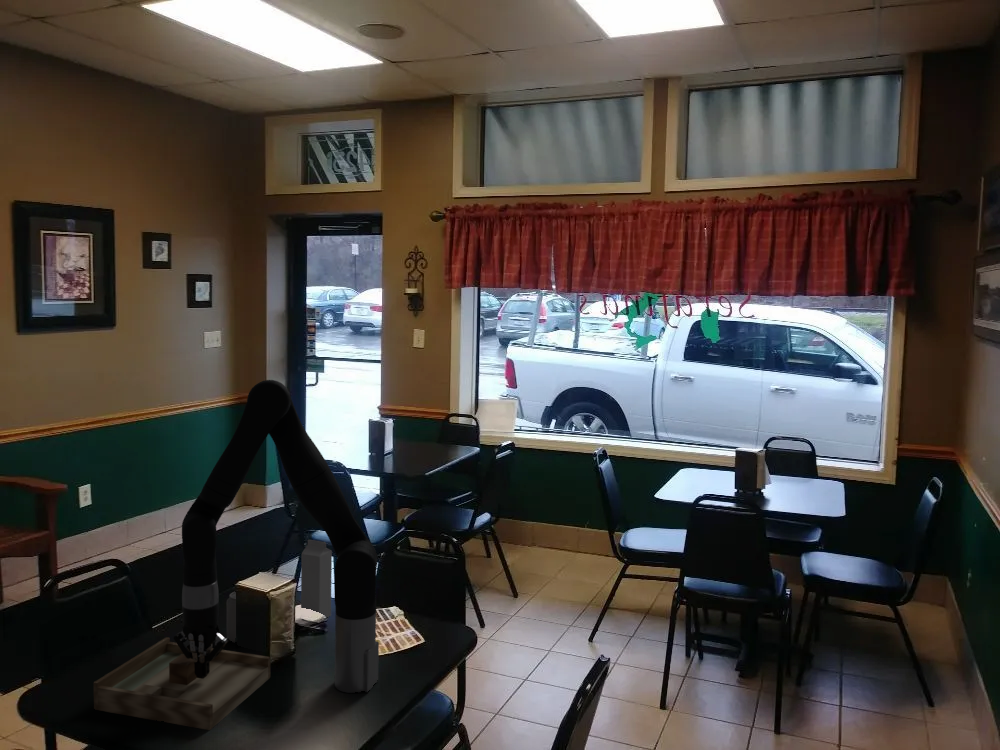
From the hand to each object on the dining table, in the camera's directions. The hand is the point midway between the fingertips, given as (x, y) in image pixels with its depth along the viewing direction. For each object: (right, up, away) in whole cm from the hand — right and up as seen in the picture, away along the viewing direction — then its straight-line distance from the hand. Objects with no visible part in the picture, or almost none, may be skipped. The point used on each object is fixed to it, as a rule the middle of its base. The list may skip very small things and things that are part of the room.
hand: (202, 676), depth 178 cm
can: (-1, -2, +30) cm, 30 cm away
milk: (+15, -1, +45) cm, 47 cm away
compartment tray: (-4, -4, +1) cm, 6 cm away
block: (-4, -1, +1) cm, 5 cm away
